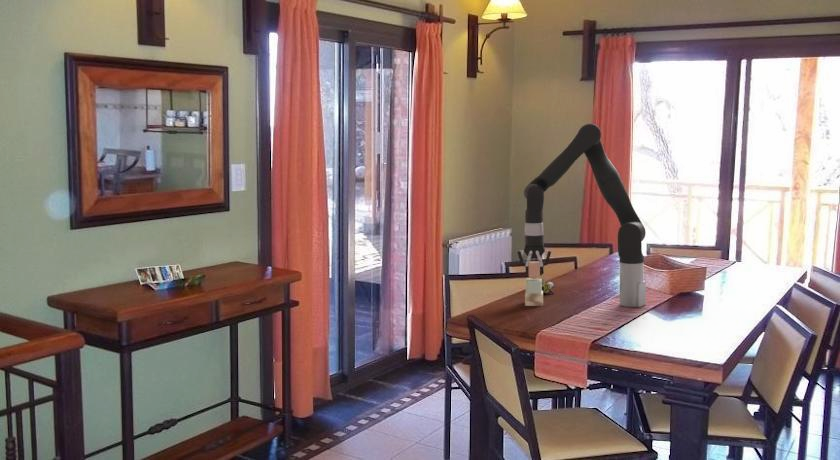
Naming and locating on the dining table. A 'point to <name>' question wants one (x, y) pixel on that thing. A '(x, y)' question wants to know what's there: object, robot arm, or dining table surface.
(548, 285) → the toy
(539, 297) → the tower base
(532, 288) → the tower top
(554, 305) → the dining table surface
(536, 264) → the clay block
